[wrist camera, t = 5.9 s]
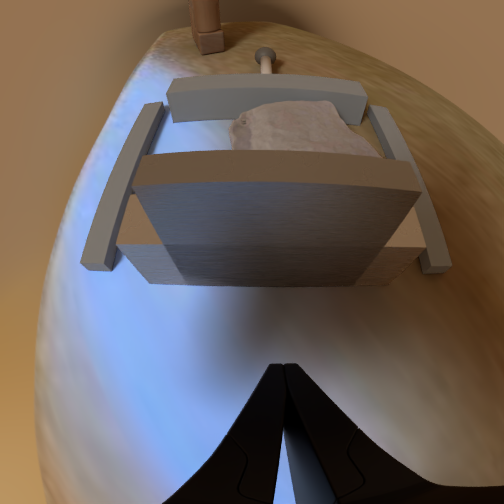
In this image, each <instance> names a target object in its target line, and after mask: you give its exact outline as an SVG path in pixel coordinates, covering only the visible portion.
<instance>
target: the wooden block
mask: <svg viewBox="0 0 504 504" xmlns="http://www.w3.org/2000/svg"><path fill="white" fill-rule="evenodd" d="M188 2H189V5H190V6H189V11H190V19H191V26H192V34H193V38H194V41H195V42H196V43H197V47H198V49H199V51H200V53H201V54H202V55H205V54H210V53H216V52H222V51H225V43H224V32H223V31H222V30H221V29H220V28H221V24H220V12H219V0H188Z"/></svg>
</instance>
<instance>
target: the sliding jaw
mask: <svg viewBox="0 0 504 504" xmlns="http://www.w3.org/2000/svg"><path fill="white" fill-rule="evenodd" d="M132 188H133V190H134V192H135V194H132V195H130V197H129V200H128V203H127V206H126V210H125V213H124V216H123V220H122V223H121V226H120V230H119V234H118V237H117V241H116V246H117V247H118V248H119V249H120V250H121V252H122V253H123V254H124V255H125V256H126V257H127V259H128V260H129V261H130V262H131V263H132V264H133V266H134V267H135V268H136V269H137V270H138V271H139V272H140V274H141V275H142V276H143V277H144V278H145V279H146V280H147V281H148V283H149V284H170V285H199V286H246V287H330V286H376V285H389V284H390V283H391V282H392V281H393V280H394V279H395V278H396V277H397V276H398V275H399V274H400V273H402V272H403V271H404V270H405V269H406V268H407V267H408V266H409V265H410V264H411V263H412V262H413V261H414V260H415V259H416V258H417V257H418V256H419V255H420V254H421V253H422V251H423V250H424V249H425V248H426V244H425V241H424V237H423V234H422V230H421V227H420V224H419V221H418V218H417V214H416V211H415V208H414V204H415V203H416V201H417V200H418V198H419V197H420V195H421V194H422V189H421V187H420V184H419V182H418V179H417V177H416V175H415V172H414V170H413V168H412V165H411V163H410V162H408V161H401V160H394V159H387V158H379V157H371V156H362V155H352V154H341V153H328V152H313V151H291V150H213V151H192V152H176V153H164V154H153V155H143V156H142V159H141V161H140V164H139V167H138V169H137V172H136V175H135V177H134V180H133V183H132Z"/></svg>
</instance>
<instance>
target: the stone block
mask: <svg viewBox="0 0 504 504" xmlns="http://www.w3.org/2000/svg"><path fill="white" fill-rule="evenodd" d="M229 137H230V141H231V144H232V150H291V151H313V152H328V153H341V154H352V155H362V156H371V157H379V158H382V157H381V156H380V155H379V154H378V152H377V151H376V150H375V149H374V148H373V147H372V146H371V145H370V144H369V143H368V142H367V141H366V140H365V139H364V138H363V137H361V136H359V135H357V134H355V133H354V132H353V131H351V130H350V129H349V128H348V127H347V125H346V123H345V122H344V121H343V120H342V119H341V118H340V116H339V114H338V112H337V110H336V108H335V106H334V105H333V104H332V103H331V102H329V101H325V100H324V101H283V102H274V103H270V104H264V105H261V106H259V107H256V108H254V109H251V110H249V111H246V112H243V113H241V115H240V117H239V118H238V119H235V120H233V121H232V124H231V126H230V127H229Z"/></svg>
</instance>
